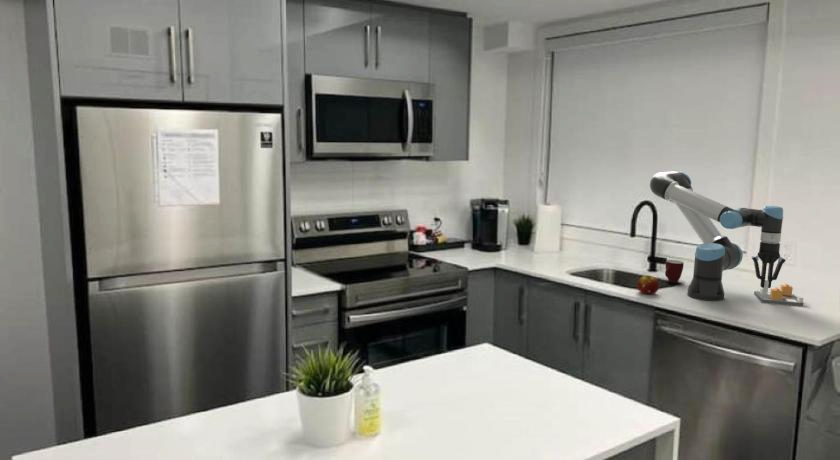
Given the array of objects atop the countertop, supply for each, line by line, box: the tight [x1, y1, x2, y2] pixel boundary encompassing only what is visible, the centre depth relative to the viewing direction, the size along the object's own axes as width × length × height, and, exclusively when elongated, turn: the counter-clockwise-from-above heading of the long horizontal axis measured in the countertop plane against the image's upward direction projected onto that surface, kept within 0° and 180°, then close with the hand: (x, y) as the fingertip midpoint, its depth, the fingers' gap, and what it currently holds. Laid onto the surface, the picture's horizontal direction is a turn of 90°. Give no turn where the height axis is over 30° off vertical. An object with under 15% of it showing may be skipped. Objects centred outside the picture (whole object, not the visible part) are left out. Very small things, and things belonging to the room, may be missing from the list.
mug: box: [664, 259, 685, 283], centre depth 296 cm, size 10×8×10 cm
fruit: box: [636, 274, 660, 295], centre depth 275 cm, size 10×9×8 cm
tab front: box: [770, 287, 783, 300], centre depth 264 cm, size 4×3×5 cm
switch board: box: [753, 287, 805, 307], centre depth 268 cm, size 16×14×4 cm
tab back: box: [779, 283, 794, 296], centre depth 270 cm, size 4×3×5 cm
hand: (764, 294), depth 265 cm, fingers closed
